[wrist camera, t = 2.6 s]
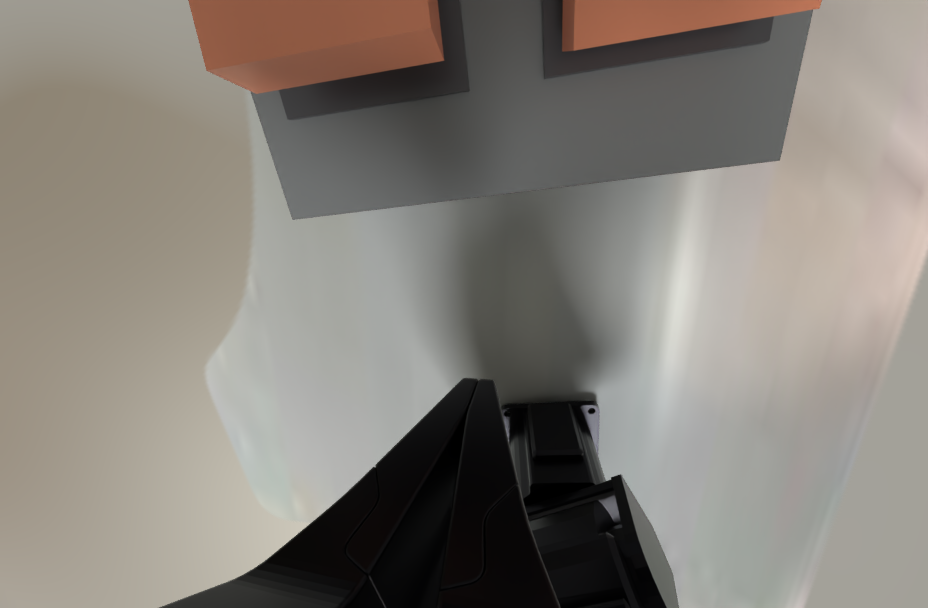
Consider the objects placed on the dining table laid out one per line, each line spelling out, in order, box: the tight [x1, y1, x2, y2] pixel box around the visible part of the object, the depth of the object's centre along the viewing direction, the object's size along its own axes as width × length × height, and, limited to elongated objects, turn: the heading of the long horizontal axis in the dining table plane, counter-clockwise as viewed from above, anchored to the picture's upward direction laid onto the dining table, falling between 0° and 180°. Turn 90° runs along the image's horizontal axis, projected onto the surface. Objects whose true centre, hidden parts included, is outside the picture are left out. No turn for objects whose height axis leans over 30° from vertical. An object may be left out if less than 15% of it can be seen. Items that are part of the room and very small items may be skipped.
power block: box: [251, 0, 813, 220], centre depth 12 cm, size 12×16×7 cm
